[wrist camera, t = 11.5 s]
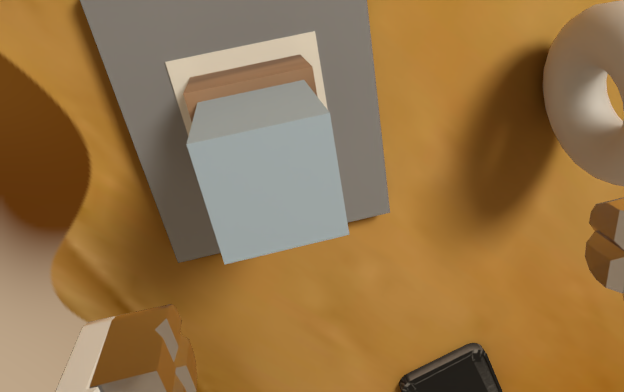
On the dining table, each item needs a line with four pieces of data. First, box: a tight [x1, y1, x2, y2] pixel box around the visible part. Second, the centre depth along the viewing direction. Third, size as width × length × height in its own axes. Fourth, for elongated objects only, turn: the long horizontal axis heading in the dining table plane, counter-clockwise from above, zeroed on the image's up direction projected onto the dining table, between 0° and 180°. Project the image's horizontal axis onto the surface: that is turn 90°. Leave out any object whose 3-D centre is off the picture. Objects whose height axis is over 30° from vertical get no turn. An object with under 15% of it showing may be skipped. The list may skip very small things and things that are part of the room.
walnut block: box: [183, 54, 318, 122], centre depth 24 cm, size 6×6×4 cm
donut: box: [543, 0, 624, 186], centre depth 24 cm, size 10×4×10 cm, turn 16°
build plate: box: [80, 0, 390, 263], centre depth 26 cm, size 16×14×1 cm
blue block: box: [186, 80, 349, 264], centre depth 19 cm, size 5×5×6 cm
